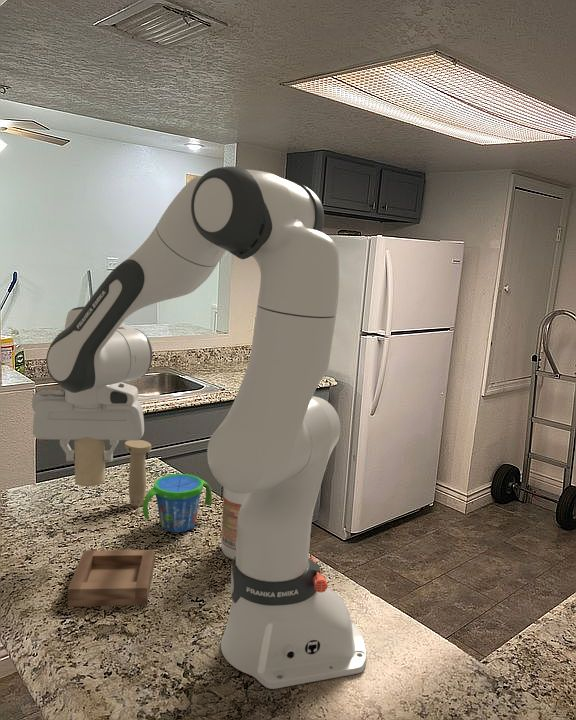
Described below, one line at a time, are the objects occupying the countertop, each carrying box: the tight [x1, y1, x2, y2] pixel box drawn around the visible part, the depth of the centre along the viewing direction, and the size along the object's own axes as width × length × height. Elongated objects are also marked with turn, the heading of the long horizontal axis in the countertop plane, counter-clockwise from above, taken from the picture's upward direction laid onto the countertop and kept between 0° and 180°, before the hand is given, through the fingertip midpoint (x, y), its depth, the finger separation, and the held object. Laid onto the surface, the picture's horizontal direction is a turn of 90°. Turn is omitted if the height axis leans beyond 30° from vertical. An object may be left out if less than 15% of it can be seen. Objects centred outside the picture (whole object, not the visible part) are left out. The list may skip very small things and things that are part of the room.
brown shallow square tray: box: [67, 549, 155, 608], centre depth 107 cm, size 13×13×3 cm
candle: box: [74, 437, 106, 488], centre depth 115 cm, size 6×6×10 cm
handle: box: [124, 439, 152, 508], centre depth 139 cm, size 5×6×15 cm
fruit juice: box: [220, 487, 249, 560], centre depth 119 cm, size 9×9×28 cm
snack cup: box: [142, 473, 213, 534], centre depth 130 cm, size 16×10×10 cm
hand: (89, 460), depth 115 cm, fingers closed on candle, 5 cm apart
